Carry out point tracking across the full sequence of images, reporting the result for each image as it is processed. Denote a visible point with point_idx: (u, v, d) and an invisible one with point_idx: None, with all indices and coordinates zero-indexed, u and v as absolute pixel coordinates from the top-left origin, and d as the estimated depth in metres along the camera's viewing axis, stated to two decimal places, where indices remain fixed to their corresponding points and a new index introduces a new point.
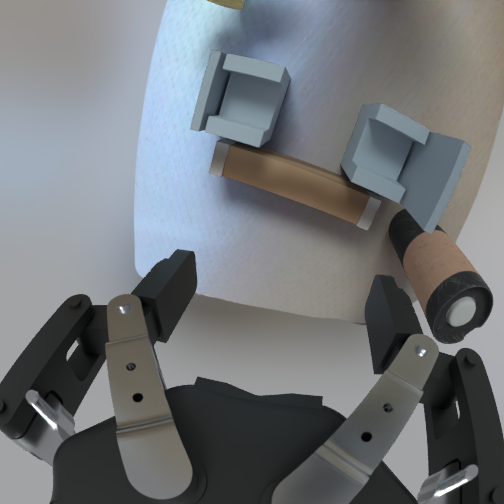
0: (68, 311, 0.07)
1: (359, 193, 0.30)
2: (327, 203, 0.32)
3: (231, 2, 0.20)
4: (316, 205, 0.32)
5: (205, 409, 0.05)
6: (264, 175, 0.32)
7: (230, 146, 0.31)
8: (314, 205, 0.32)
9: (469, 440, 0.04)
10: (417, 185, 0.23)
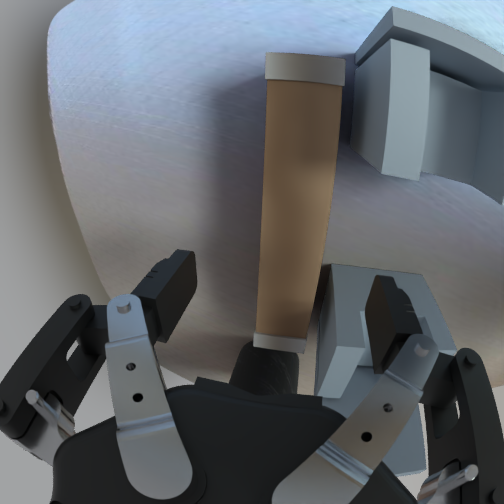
0: (68, 311, 0.07)
1: (306, 326, 0.20)
2: (275, 288, 0.19)
3: None
4: (264, 273, 0.18)
5: (205, 409, 0.05)
6: (295, 168, 0.15)
7: (340, 87, 0.12)
8: (263, 270, 0.18)
9: (469, 440, 0.04)
10: None
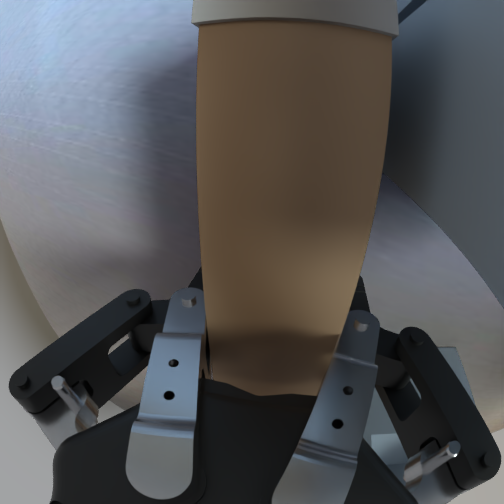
0: (123, 305, 0.08)
1: None
2: None
3: None
4: None
5: (205, 409, 0.05)
6: (271, 241, 0.06)
7: (386, 40, 0.04)
8: None
9: (440, 418, 0.05)
10: None
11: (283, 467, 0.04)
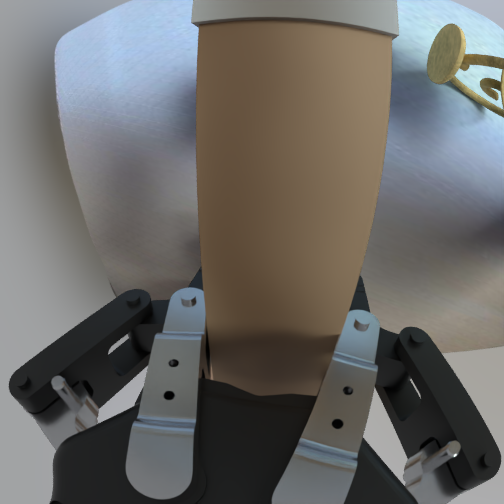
0: (123, 305, 0.08)
1: None
2: None
3: (438, 69, 0.14)
4: None
5: (205, 409, 0.05)
6: (271, 240, 0.06)
7: (386, 39, 0.04)
8: None
9: (439, 418, 0.05)
10: None
11: (283, 467, 0.04)
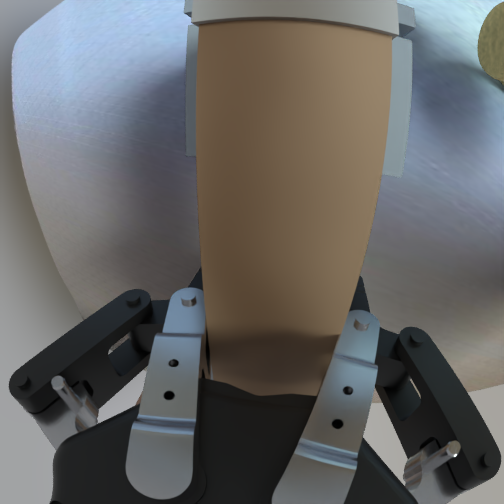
0: (123, 305, 0.08)
1: None
2: None
3: (501, 59, 0.07)
4: None
5: (205, 409, 0.05)
6: (272, 241, 0.06)
7: (386, 39, 0.04)
8: None
9: (439, 418, 0.05)
10: None
11: (283, 467, 0.04)
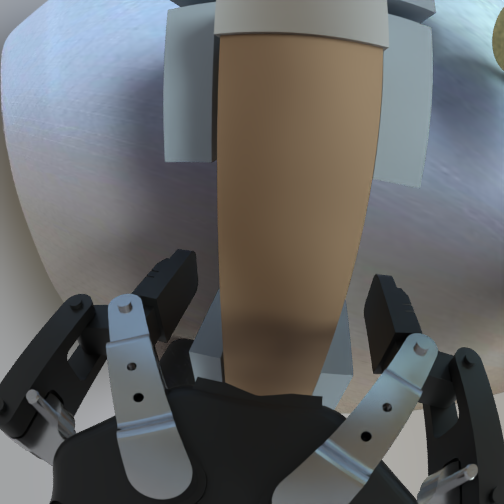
0: (69, 311, 0.07)
1: None
2: (250, 389, 0.11)
3: None
4: (233, 372, 0.11)
5: (205, 409, 0.05)
6: (281, 222, 0.07)
7: (378, 51, 0.05)
8: (231, 369, 0.11)
9: (468, 440, 0.04)
10: None
11: (300, 464, 0.04)
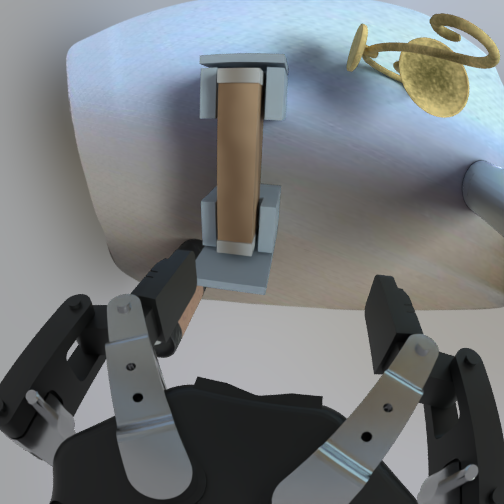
0: (68, 311, 0.07)
1: (250, 232, 0.31)
2: (227, 204, 0.30)
3: (350, 60, 0.23)
4: (220, 193, 0.29)
5: (205, 409, 0.05)
6: (234, 129, 0.26)
7: (257, 84, 0.23)
8: (219, 191, 0.29)
9: (469, 440, 0.04)
10: (221, 255, 0.34)
11: (301, 464, 0.04)
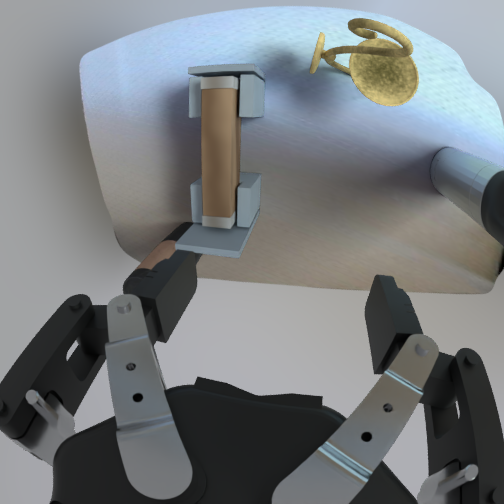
0: (68, 311, 0.07)
1: (229, 208, 0.37)
2: (210, 185, 0.36)
3: None
4: (204, 176, 0.36)
5: (205, 409, 0.05)
6: (214, 125, 0.32)
7: (231, 88, 0.29)
8: (203, 175, 0.36)
9: (469, 440, 0.04)
10: (207, 229, 0.40)
11: (301, 464, 0.04)
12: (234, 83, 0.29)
